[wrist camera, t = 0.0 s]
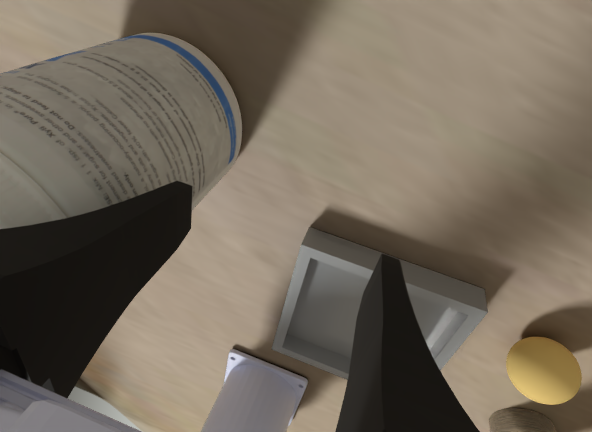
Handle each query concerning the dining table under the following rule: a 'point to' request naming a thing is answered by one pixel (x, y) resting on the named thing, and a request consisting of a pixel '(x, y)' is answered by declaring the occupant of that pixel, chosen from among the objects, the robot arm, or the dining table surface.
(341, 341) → the dish
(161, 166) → the supplement tub
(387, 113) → the dining table surface
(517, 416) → the shaker cup
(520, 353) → the ball
